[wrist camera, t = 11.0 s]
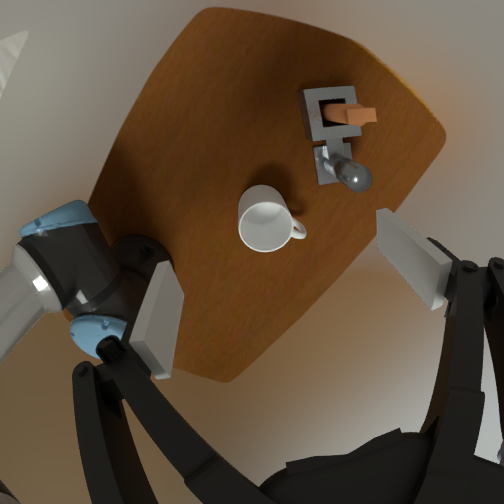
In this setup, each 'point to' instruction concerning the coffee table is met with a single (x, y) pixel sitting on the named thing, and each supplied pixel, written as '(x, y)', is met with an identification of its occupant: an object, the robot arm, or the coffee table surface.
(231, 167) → the coffee table surface
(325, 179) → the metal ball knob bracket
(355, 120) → the wedge pin
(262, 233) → the cup
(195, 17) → the coffee table surface
